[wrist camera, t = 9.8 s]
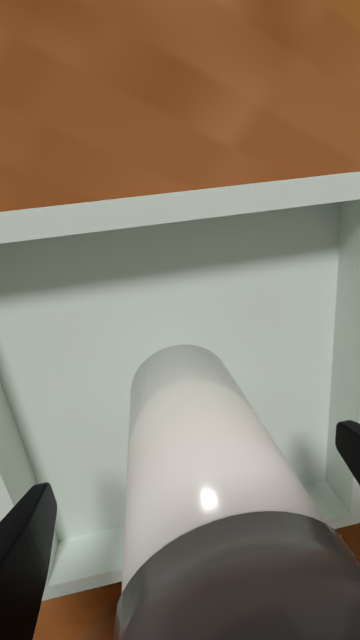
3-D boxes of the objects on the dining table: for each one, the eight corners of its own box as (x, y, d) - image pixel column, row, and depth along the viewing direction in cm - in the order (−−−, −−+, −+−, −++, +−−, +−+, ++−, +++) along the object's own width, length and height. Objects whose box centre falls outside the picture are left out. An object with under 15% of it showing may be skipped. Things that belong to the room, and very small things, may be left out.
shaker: (137, 444, 13) (137, 857, 4) (118, 352, 11) (65, 701, 3) (235, 425, 13) (407, 765, 5) (229, 333, 12) (458, 591, 3)
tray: (49, 543, 15) (33, 603, 12) (-71, 227, 10) (-137, 227, 7) (330, 479, 16) (363, 521, 14) (351, 178, 11) (408, 166, 9)
